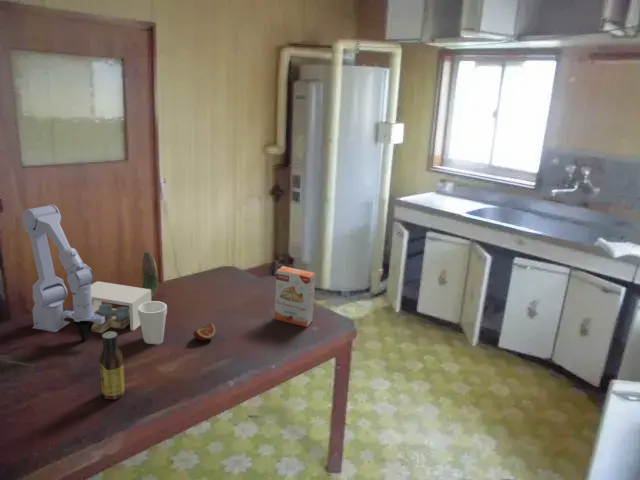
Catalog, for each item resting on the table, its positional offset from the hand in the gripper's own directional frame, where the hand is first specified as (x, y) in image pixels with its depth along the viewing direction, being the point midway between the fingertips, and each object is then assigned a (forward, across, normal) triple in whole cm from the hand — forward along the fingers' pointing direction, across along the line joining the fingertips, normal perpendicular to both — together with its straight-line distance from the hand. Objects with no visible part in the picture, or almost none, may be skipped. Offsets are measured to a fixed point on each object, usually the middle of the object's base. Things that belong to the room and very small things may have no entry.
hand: (85, 339), depth 181 cm
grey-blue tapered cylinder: (0, +4, +17) cm, 18 cm away
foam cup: (+1, +21, +8) cm, 22 cm away
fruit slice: (+1, +37, +15) cm, 40 cm away
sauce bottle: (+1, +26, -24) cm, 35 cm away
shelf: (+1, 0, +18) cm, 18 cm away
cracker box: (+1, +63, +39) cm, 74 cm away
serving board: (+1, 0, +14) cm, 14 cm away
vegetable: (+1, +2, +40) cm, 40 cm away
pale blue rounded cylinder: (0, -3, +17) cm, 17 cm away
